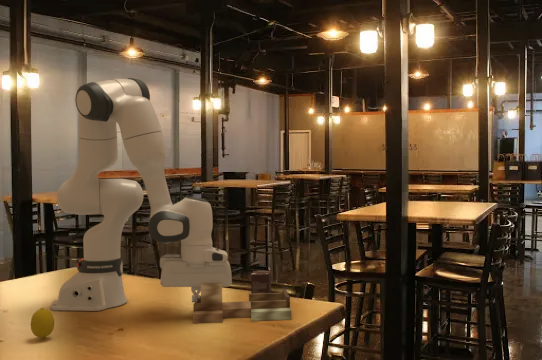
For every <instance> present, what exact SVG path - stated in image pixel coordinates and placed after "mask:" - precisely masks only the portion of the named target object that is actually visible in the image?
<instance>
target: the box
mask: <svg viewBox="0 0 542 360" xmlns="http://www.w3.org/2000/svg"><path fill="white" fill-rule="evenodd" d="M271 273H272V272H271V270H253V271H252V273H251V274H250V284H251V285H250V289H251V290H250V291H251V292H250V294H258V293H272V274H271Z"/></svg>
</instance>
